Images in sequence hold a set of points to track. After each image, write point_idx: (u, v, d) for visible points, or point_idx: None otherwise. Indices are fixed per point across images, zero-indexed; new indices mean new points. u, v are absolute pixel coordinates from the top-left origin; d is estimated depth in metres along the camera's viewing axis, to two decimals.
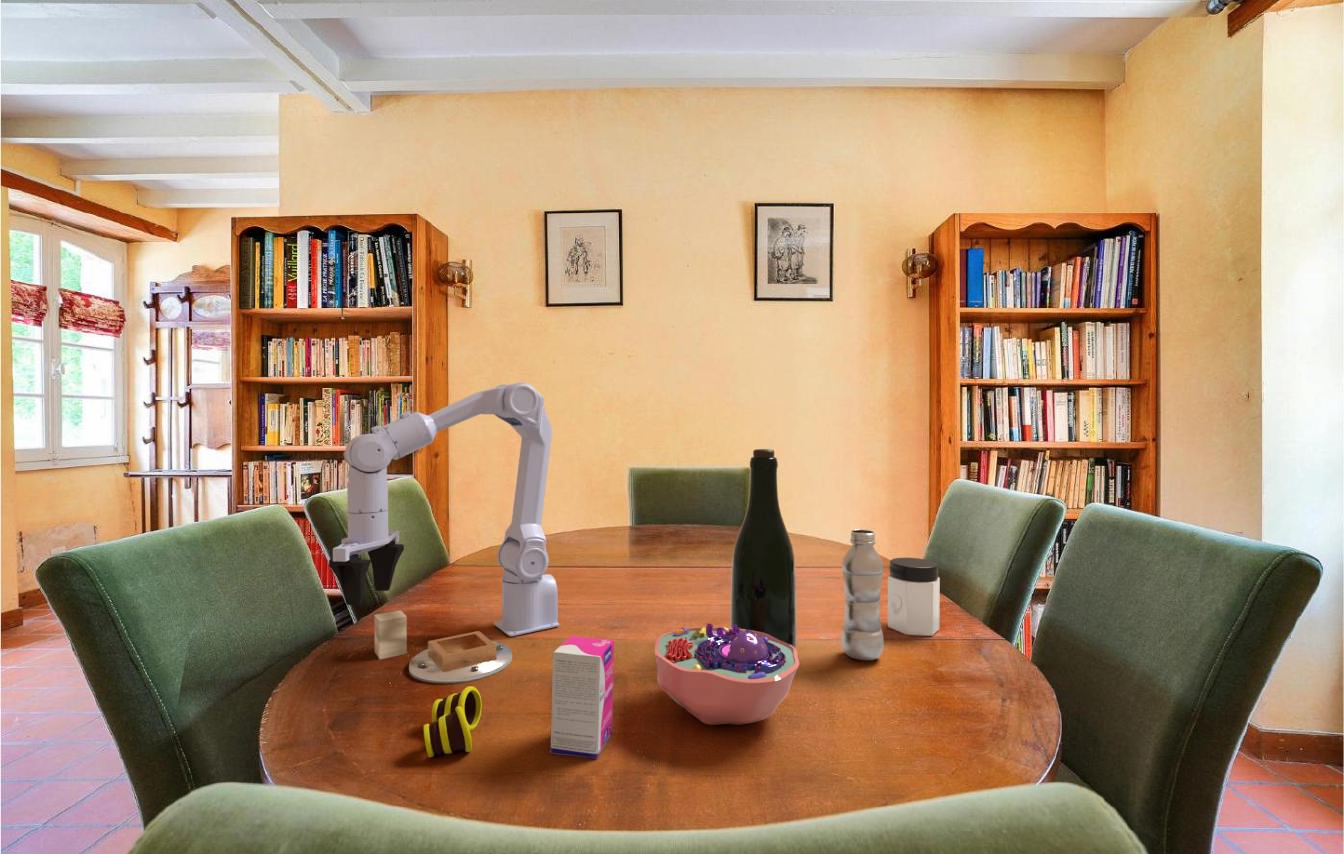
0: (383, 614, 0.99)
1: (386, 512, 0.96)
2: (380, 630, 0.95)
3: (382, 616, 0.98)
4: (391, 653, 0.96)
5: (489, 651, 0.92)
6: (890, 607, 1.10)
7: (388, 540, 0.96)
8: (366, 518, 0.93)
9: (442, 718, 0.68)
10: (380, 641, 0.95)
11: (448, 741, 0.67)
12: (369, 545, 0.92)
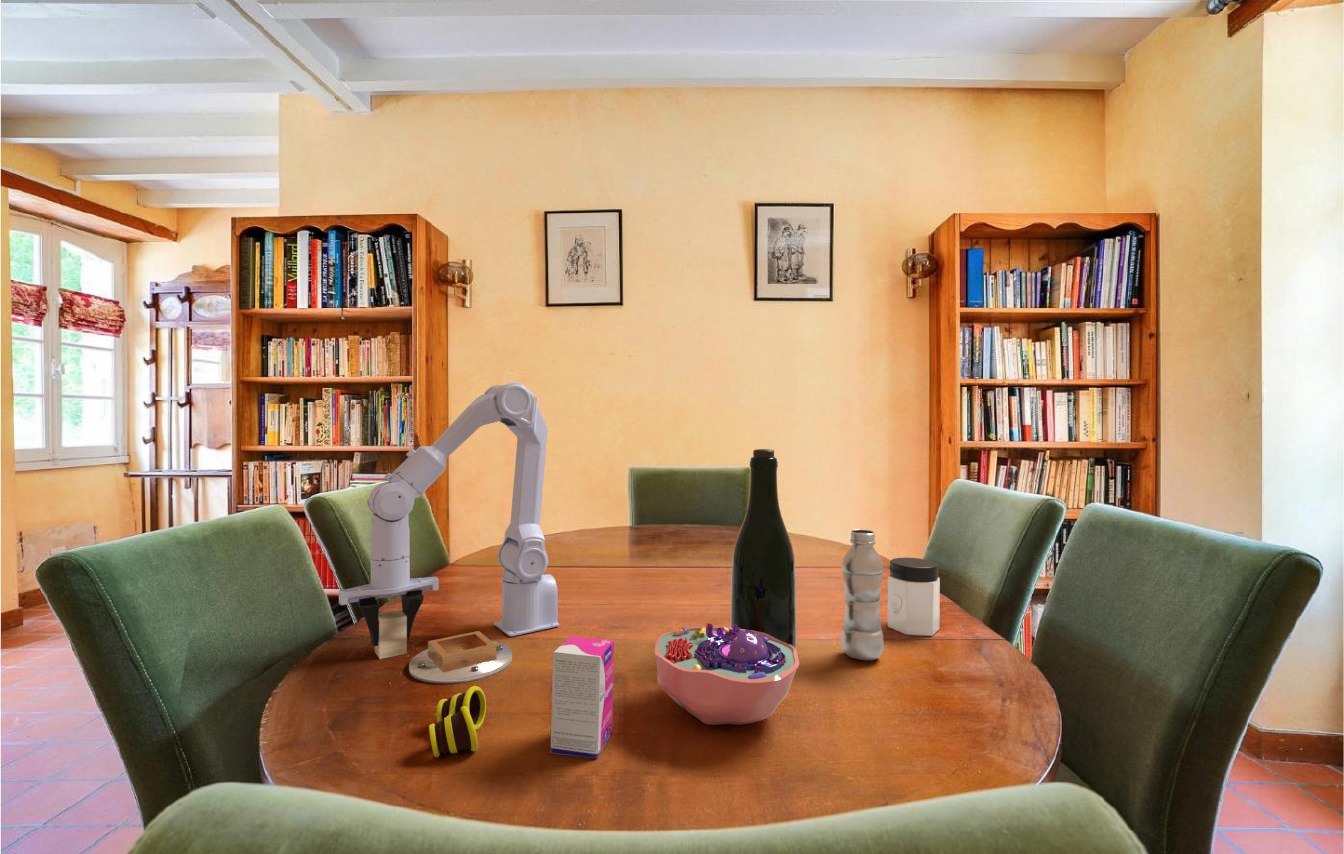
0: (383, 614, 0.99)
1: (396, 561, 0.96)
2: (380, 630, 0.95)
3: (382, 616, 0.98)
4: (391, 653, 0.96)
5: (489, 651, 0.92)
6: (890, 607, 1.10)
7: (398, 589, 0.96)
8: (374, 565, 0.95)
9: (448, 718, 0.69)
10: (380, 641, 0.95)
11: (454, 741, 0.67)
12: (371, 592, 0.94)
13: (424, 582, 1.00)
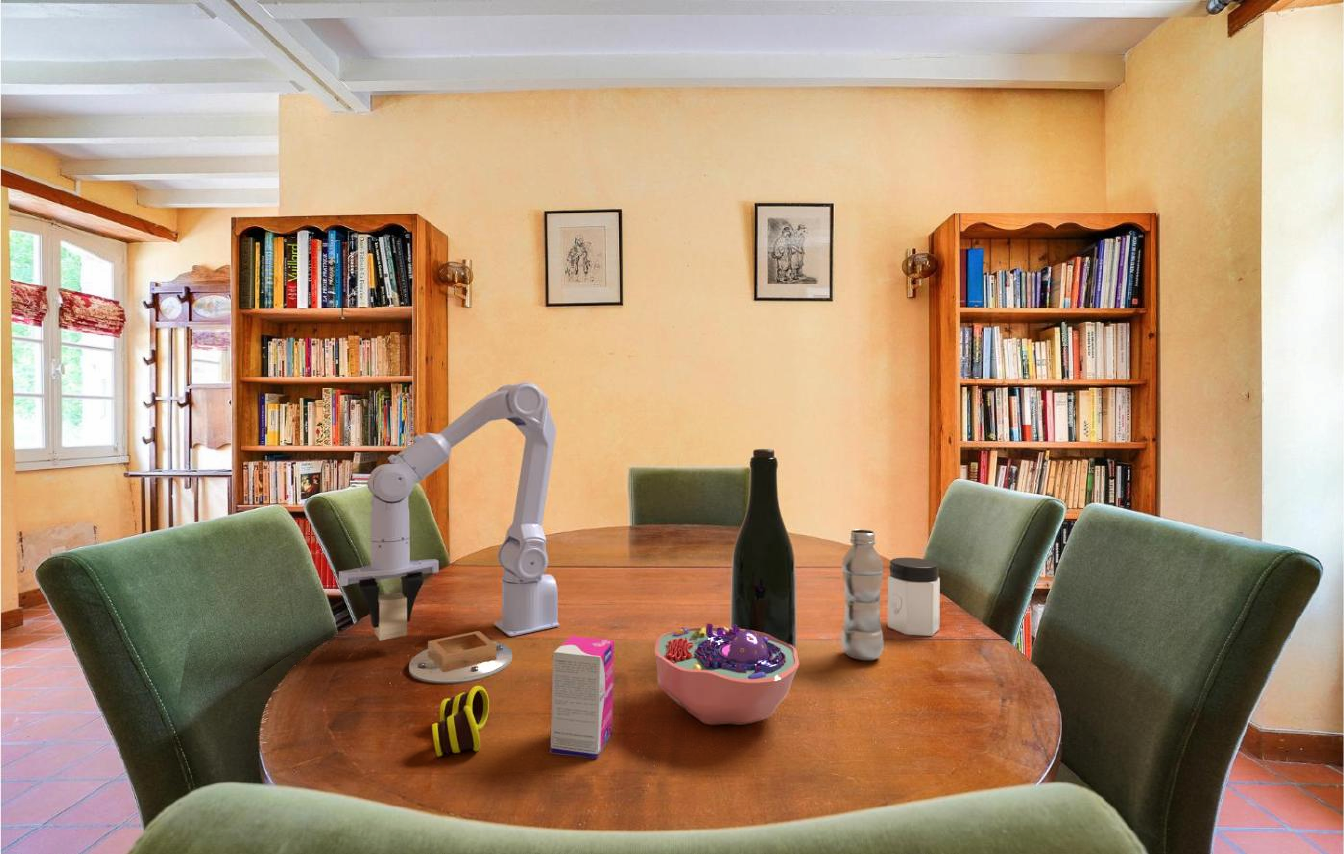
0: (383, 596, 0.99)
1: (396, 543, 0.96)
2: (380, 611, 0.95)
3: (382, 598, 0.98)
4: (391, 635, 0.96)
5: (489, 651, 0.92)
6: (890, 607, 1.10)
7: (398, 571, 0.96)
8: (374, 546, 0.95)
9: (450, 717, 0.69)
10: (380, 622, 0.95)
11: (457, 740, 0.67)
12: (371, 573, 0.94)
13: (424, 564, 1.00)
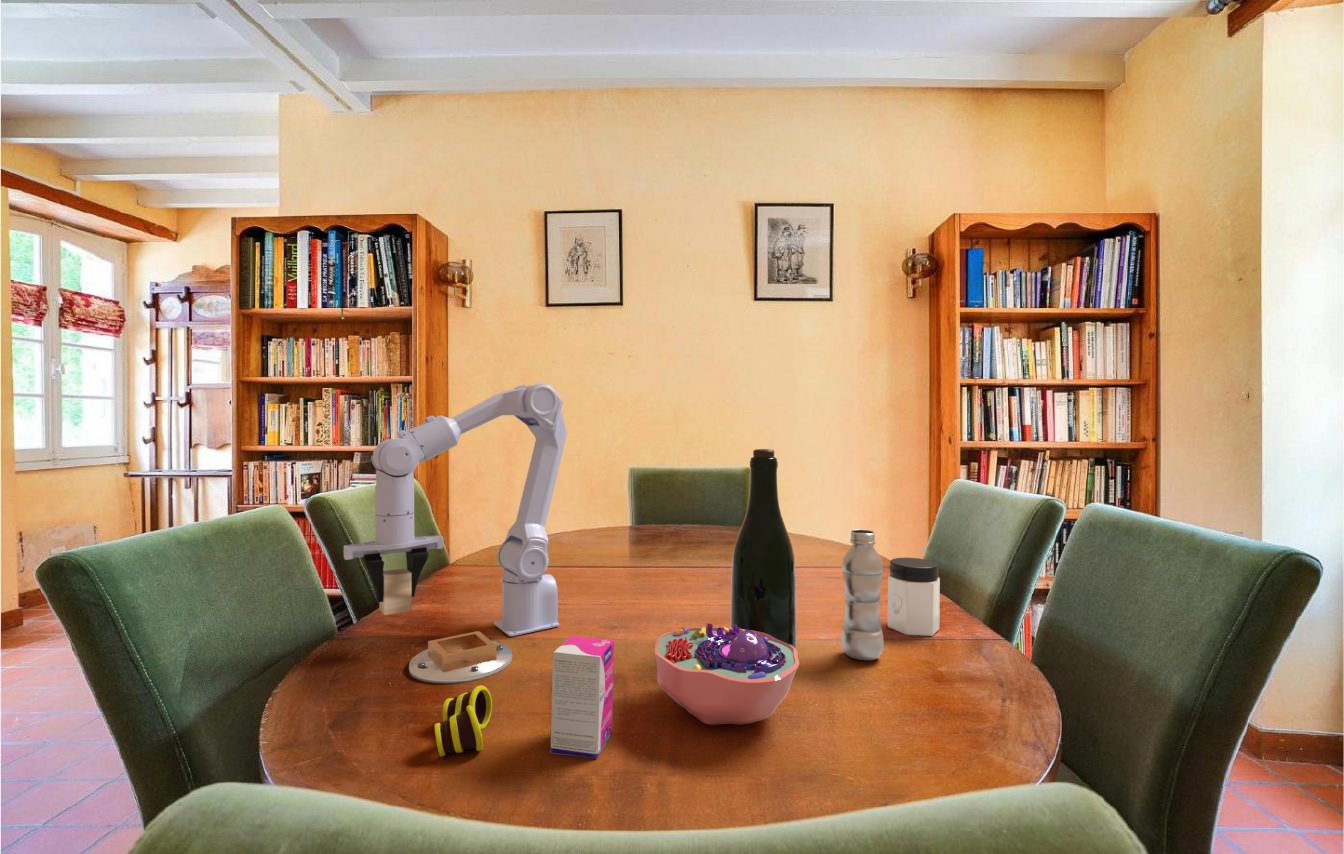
0: (388, 571, 0.98)
1: (401, 517, 0.96)
2: (385, 585, 0.95)
3: (387, 572, 0.97)
4: (396, 609, 0.96)
5: (489, 651, 0.92)
6: (890, 607, 1.10)
7: (403, 545, 0.96)
8: (379, 521, 0.95)
9: (453, 717, 0.69)
10: (385, 597, 0.95)
11: (459, 740, 0.67)
12: (376, 547, 0.94)
13: (429, 539, 0.99)
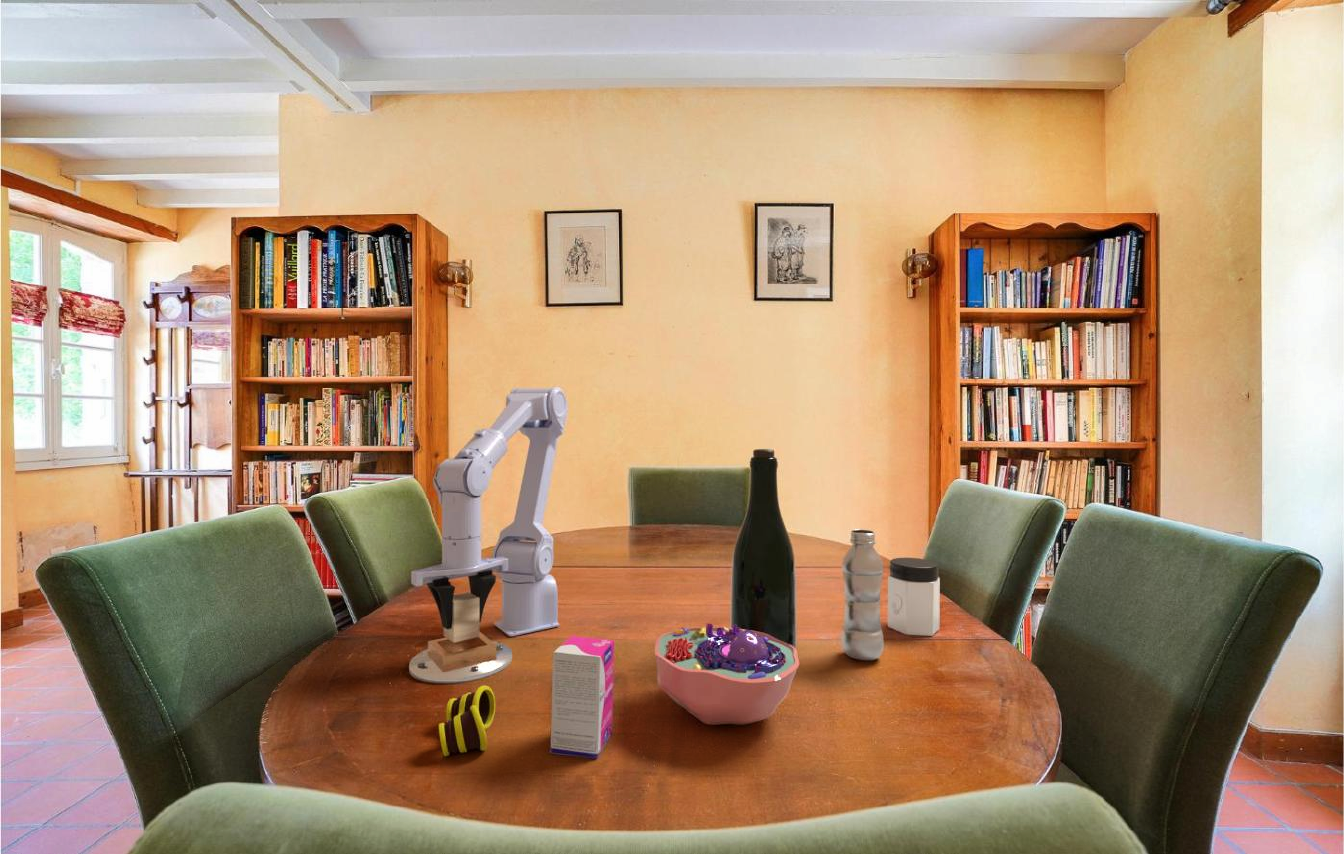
0: (453, 596, 0.94)
1: (471, 540, 0.92)
2: (454, 612, 0.91)
3: (453, 598, 0.93)
4: (465, 636, 0.92)
5: (489, 651, 0.92)
6: (890, 607, 1.10)
7: (473, 569, 0.92)
8: (449, 544, 0.91)
9: (457, 717, 0.69)
10: (454, 623, 0.91)
11: (463, 740, 0.67)
12: (447, 572, 0.90)
13: (495, 562, 0.96)
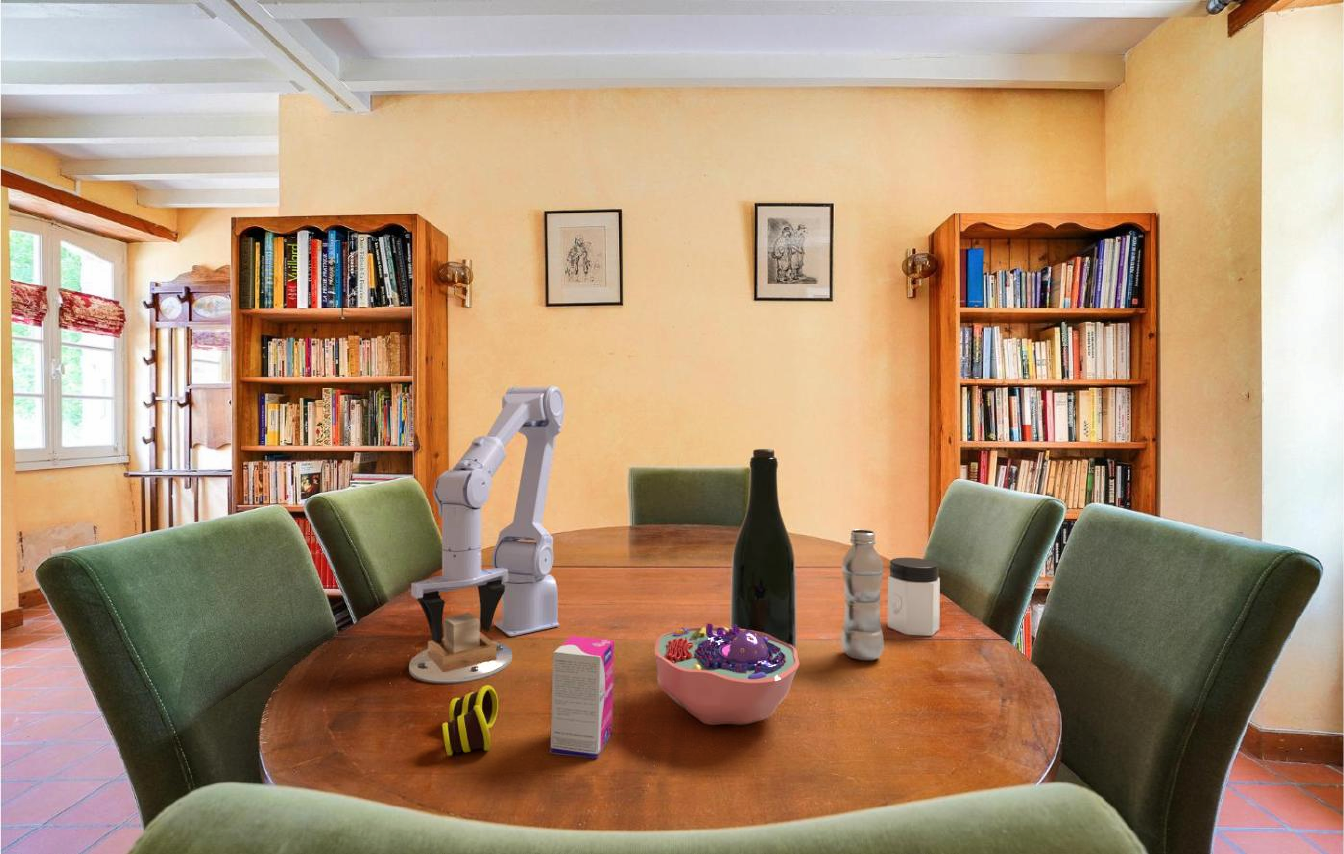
0: (453, 617, 0.94)
1: (471, 552, 0.92)
2: (454, 634, 0.91)
3: (453, 619, 0.93)
4: None
5: (489, 651, 0.92)
6: (890, 607, 1.10)
7: (473, 581, 0.92)
8: (449, 556, 0.91)
9: (461, 717, 0.69)
10: (454, 645, 0.91)
11: (467, 740, 0.67)
12: (447, 584, 0.90)
13: (495, 573, 0.96)
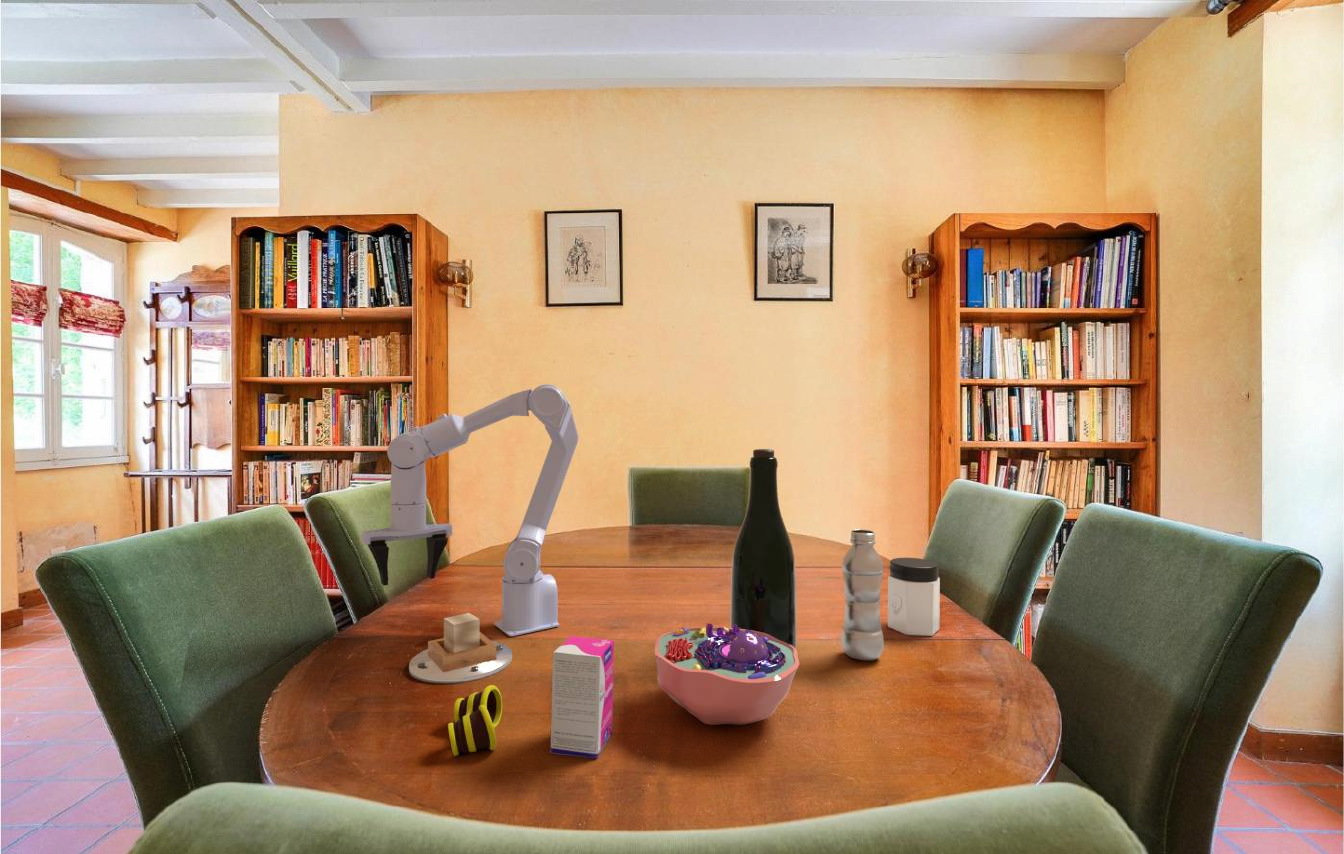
0: (453, 617, 0.94)
1: (414, 506, 1.04)
2: (454, 634, 0.91)
3: (453, 619, 0.93)
4: None
5: (489, 651, 0.92)
6: (890, 607, 1.10)
7: (416, 532, 1.04)
8: (394, 509, 1.04)
9: (466, 717, 0.69)
10: (454, 645, 0.91)
11: (473, 739, 0.67)
12: (392, 533, 1.03)
13: (439, 527, 1.08)
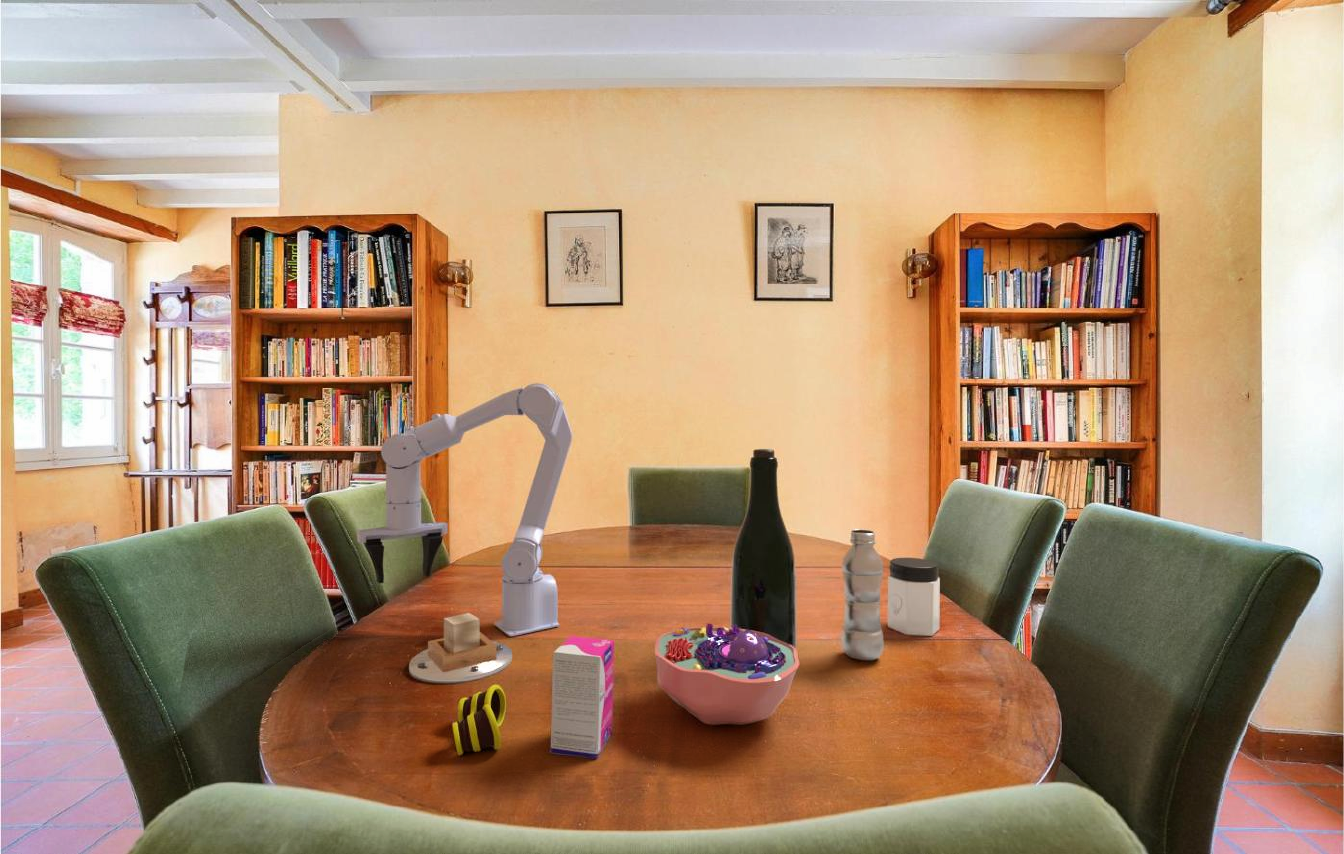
0: (453, 617, 0.94)
1: (409, 505, 1.05)
2: (454, 634, 0.91)
3: (453, 619, 0.93)
4: None
5: (489, 651, 0.92)
6: (890, 607, 1.10)
7: (411, 530, 1.06)
8: (389, 508, 1.05)
9: (471, 716, 0.69)
10: (454, 645, 0.91)
11: (478, 739, 0.67)
12: (387, 532, 1.04)
13: (434, 526, 1.09)
